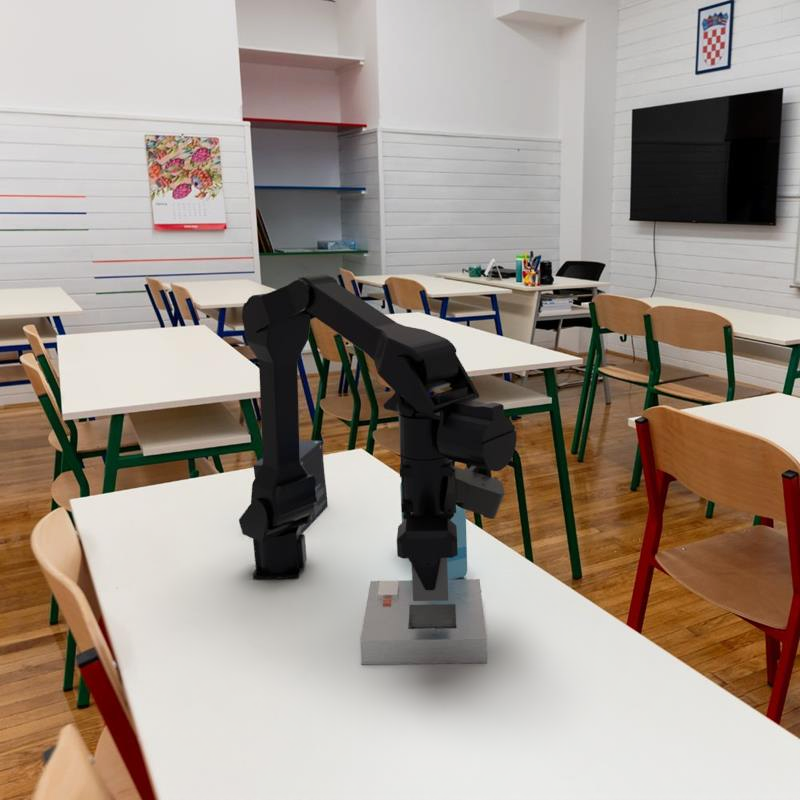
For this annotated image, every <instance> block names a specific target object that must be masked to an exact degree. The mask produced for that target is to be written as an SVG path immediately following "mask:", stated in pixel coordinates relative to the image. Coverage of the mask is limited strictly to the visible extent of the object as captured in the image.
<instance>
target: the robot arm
mask: <svg viewBox="0 0 800 800" xmlns="http://www.w3.org/2000/svg"><path fill="white" fill-rule="evenodd" d="M241 311H242V312H241V319H242V324H243V330H244V338H245V342H246V344H247V346H249V348H250V350H251V351H252V353H253V354H254V356H255V357H256V358H257V360H258V368H259V369H258V370H259V373H258V374H259V392H260V393H259V394H260V395H259V396H260V417H261V420H260V421H261V422H260V423H261V442H262V443H261V444H262V445H261V447H262V449H261V451H262V458H263V464H262V466H261V468H260V470H259V472H258V474H257V476H256V477H255V476H254V479H253V481H252V485H251V495H250V496H251V497H250V504H249V505H248V507H247V508H246V509H245V510H244V512H243V514H242V515H241V516H240V518H239V519H238V524H239V526H240V530H241V533H242V535H244V536H247V537H248V538H251V539H252V543H253V544H252V545H253V553H254V563H255V569H254V572H253V573H252V579H255V580H258V579H259V580H262V579H263V580H264V579H267V580H268V579H296V578H297V579H298V578H299V577H300V575H301V574H302V573H301V572H302V571H303V570H302V569H304V568H305V565H306V562H307V561H308V560H307V547H306V536H305V534H304V533H302V534H301V530H300V526H301V525H304V524H308V523H309V522H310V517H311V512H312V511H313V508H314V503H316V502H317V498H316V494H315V486H316V479H315V477H314V476H312V475H309V474H308V473H307V472H306V470H305V469H304V467H303V466H302V465H301V463H300V446H299V440H300V417H299V416H300V414H299V411H300V410H299V408H300V407H299V375H298V374H299V372H298V369H299V368H298V364H299V363H298V360H299V359H300V356H301V355H302V352H303V350H304V349H305V347H306V344H307V342H308V341H309V338H310V328H311V321H312V320H314V319H317V320H318V321H320V322H321V323H323V325H325V326H326V327H328V328H329V329H331V330H333V331H334V332H335V333H337V334H338V335H340V336H341V337H342V338H344V339H345V340H346V341H348V342H349V343H351V344H352V345H353V346H355V347H356V348H357V349H359V350H360V351H362V352H364V353H365V354H366V355H367V356H368V357H369V358H370V359H371V360H372V361H373V363H374V366H375V369H376V373H377V375H378V377H380V378H381V379H382V380H383V381H384V382H385V383H386V384H387V385H388V386H389V387H390V388H391V389H392V390H393V391H394V393H393V395H392V396H391V397H389V398H388V399H387V400H386V401H385V402H384V403H383V409H385V410H389V411H391V412H397V413H398V427H399V428H398V430H399V433H398V435H399V455H400V456H399V458H400V459H399V460H400V463H399V477H400V481H401V482H400V485H402V500H401V499H400V508H401V509H400V510H401V511H400V512H401V514H402V512H403V518H404V521H403V522H402V521H401V523H400V524H399V525H398V527H397V534H396V535H397V536H396V553H397V557H398V558H400V559H405V560H407V559H408V561H409V562H410V564H411V567H412V566H413V568H414V569H415V571H416V573H417V575H418V577H419V579H420V581H421V583H422V585H423V586H424V588H425V590H434V589H435V586H436V581H437V577H438V572H439V567H440V562H441V558H453V557H455V556H457V555H458V551H457V528H456V525H455V524H454V523H453V522H452V521H451V519H452V518H453V516H454V513H456V505H457V506H458V507H460V508H463V509H466V511H470V512H472V513H475V514H479V515H482V516H483V518H486V519H488V520H489V519H490V520H495V519H496V518H497V514H498V512H499V510H500V506H501V504H502V502H503V499H504V496H505V488H504V484H503V482H502V481H500V480H499V477H498V476H494V477H492V472H500V471H502V470H504V468H506V467H507V466H508V465H509V463H510V462H511V460H512V458H513V456H514V454H515V451H516V450H515V449H516V447H517V435H518V434H517V431H516V430H515V428H514V427H515V426H514V424H513V421H512V420H511V419H510V418H509V417H508V416H506V415H505V413H504V412H505V411H504V408H505V407H504V404H503V403H498V402H481V401H476V400H479V398H480V394H479V392H478V390H477V388H476V387H475V385H474V382H473V381H472V380H471V378H470V376H469V375H468V373H467V371H466V369H465V368H464V366H463V364H462V362H461V361H460V359H459V357H458V355H457V348H456V346H455V345H454V343H452V342H451V341H450V340H449V339H447V338H445V337H443V336H441V335H439V334H436V333H434V332H431V331H429V330H426V329H421V328H417V327H412V326H406V325H403V324H401V323H398V322H396V321H395V320H394V319H392V318H391V317H389V316H387V315H386V314H384V313H383V312H382V311H380V310H378V309H377V308H375V307H374V306H372V305H370V303H368V302H366V301H364V300H363V299H362V298H360V297H359V296H357V295H355V293H353V292H351V291H350V290H348V289H347V288H345V287H343V286H342V285H340V283H338V281H337V280H336V278H334V276H331V275H328V274H325V273H324V274H317V275H310V276H302V277H299V278H297V279H296V280H293V281H292V282H290V283H289V284H287V285H285V286H283V287H280V288H278V289H275V290H272V291H270V292H268V293H267V292H266V293H261V294H253V295H252V296H249V297H248V299H247V301H246V302H244V303H243V306H242V310H241ZM446 387H449V388H451V389H448V390H445V391H444V390H443V391H441V392H438V393H437V392H436V393H434V394H431V395H430V394H429V393H431V392H434V391H438V390H442V389H444V388H446ZM455 462H456V463H460V464H464V465H468V466H470V467H469V468H468V467H466V466H465V467H464V468H460V467H456V465H455Z"/></svg>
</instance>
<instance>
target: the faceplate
mask: <svg viewBox="0 0 800 800" xmlns="http://www.w3.org/2000/svg"><path fill="white" fill-rule="evenodd" d="M481 587H482V586H481V581H480V579H479V578H476V579H475V578H471V579H470V578H469V579H468V578H467V579H466V578H465V579H464V578H463V579H460V578H458V579H453V580H448V601H413V586H412V579H411V580H410V579H409V580H406V579H405V580H371V581H370V583H369V588H368V595H367V599H366V606H365V612H364V617H363V623H362V629H361V633H360V634H361V636H360V640H359V641H360V656H361V665H418V664H419V665H421V664H422V665H423V664H425V665H427V664H429V665H430V664H434V665H436V664H487V663H488V651H487V650H488V649H487V646H488V645H487V643H488V642H487V631H486V622H485V615H484V613H485V612H484V606H483V597H482V588H481ZM431 627H433V628H431ZM434 627H435V628H434ZM436 627H437V628H436ZM438 627H441V628H438ZM442 627H444V628H442ZM445 627H447V628H445ZM448 627H452V628H448ZM453 627H454V628H453Z"/></svg>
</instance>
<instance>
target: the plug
mask: <svg viewBox="0 0 800 800" xmlns="http://www.w3.org/2000/svg"><path fill="white" fill-rule="evenodd" d="M411 580H412V586H413V601H448V571H447V558H441V562H440V567H439V572H438V577H437V581H436V586H435V589H434V590H425V588H424V586H423V585H422V583H421V581H420V579H419V577H418V575H417V573H416V571H415V569H414V568H413V566H412V565H411Z"/></svg>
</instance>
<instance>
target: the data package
mask: <svg viewBox="0 0 800 800" xmlns="http://www.w3.org/2000/svg"><path fill="white" fill-rule="evenodd" d="M399 487H400V501H401V500H402V485H401V484H400V486H399ZM403 521H404V518H403V512H402V513H401V523H402V522H403ZM451 521H452V522H453V523H454V524H455V525H456V528H457V551H458V555H457V556H455V557H453V558H447V571H448V580H458V579H460V578H464V577H465V576H467V574H468V549H467V548H468V547H467V543H468V541H467V540H468V539H467V510H466V509H463V508H460V507H458V506H457V505H456V513H454V516H453V518H452V519H451Z"/></svg>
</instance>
